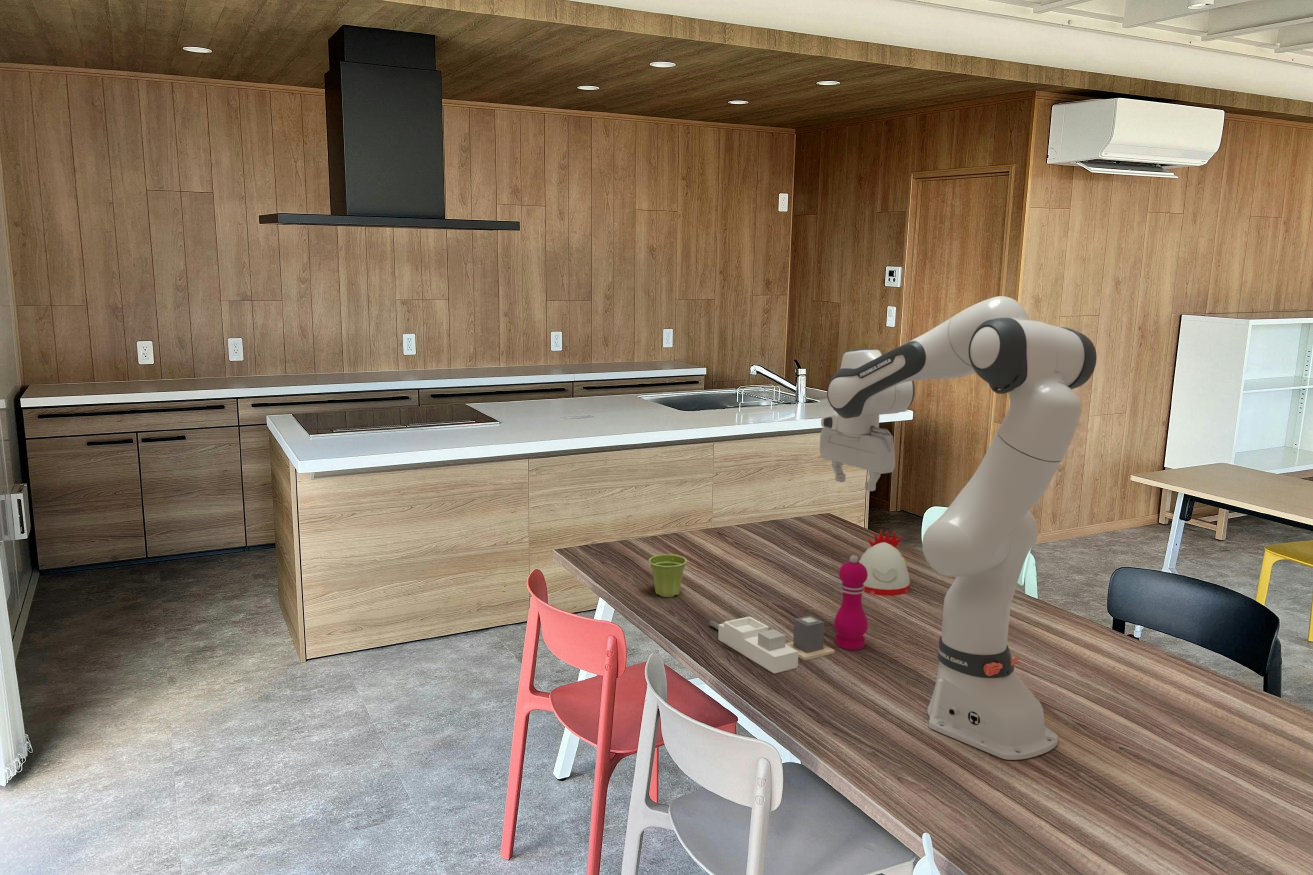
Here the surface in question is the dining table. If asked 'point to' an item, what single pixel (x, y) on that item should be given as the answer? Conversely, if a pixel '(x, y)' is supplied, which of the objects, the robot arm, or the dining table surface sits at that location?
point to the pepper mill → (851, 606)
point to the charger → (808, 634)
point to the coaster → (811, 655)
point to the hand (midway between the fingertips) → (854, 485)
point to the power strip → (750, 645)
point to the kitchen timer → (885, 567)
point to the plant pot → (667, 574)
